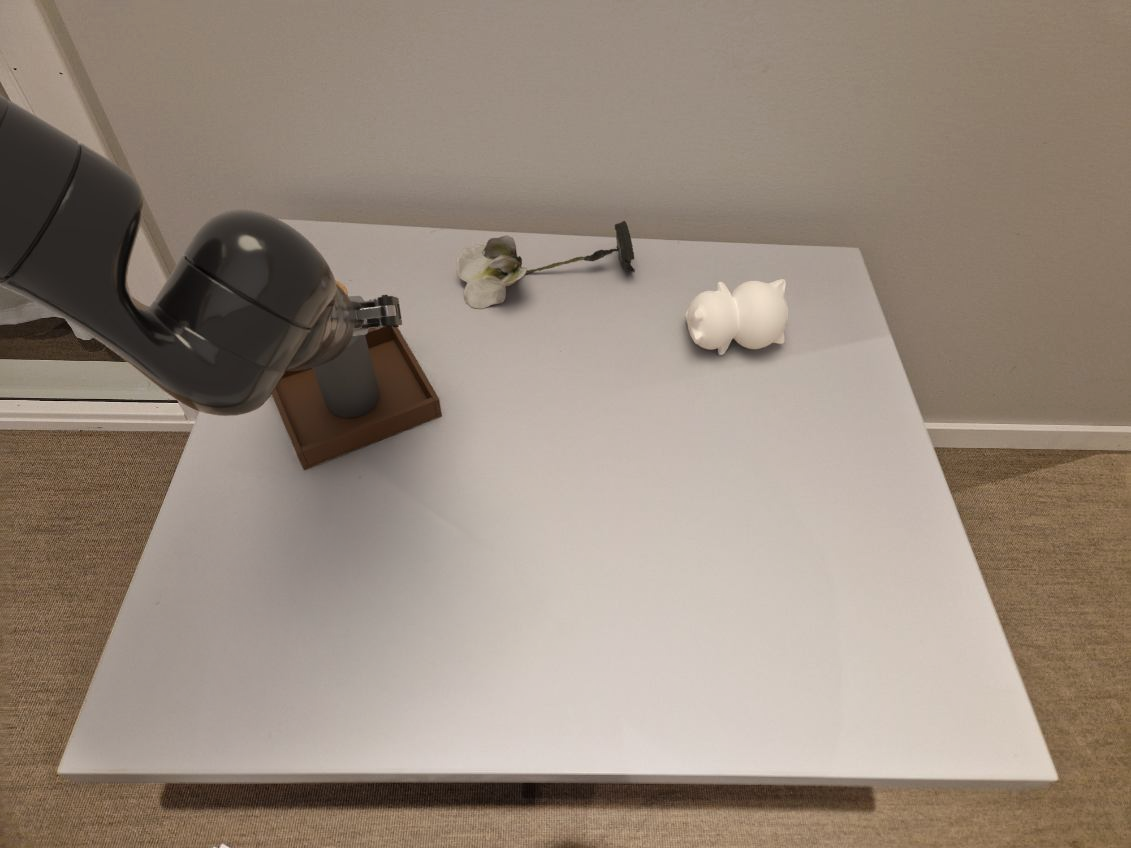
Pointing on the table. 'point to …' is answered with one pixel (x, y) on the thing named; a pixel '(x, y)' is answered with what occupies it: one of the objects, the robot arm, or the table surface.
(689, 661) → the table surface
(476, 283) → the artificial flower
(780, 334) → the cat figurine
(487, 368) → the table surface
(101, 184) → the robot arm
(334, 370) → the bottle
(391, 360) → the tray
